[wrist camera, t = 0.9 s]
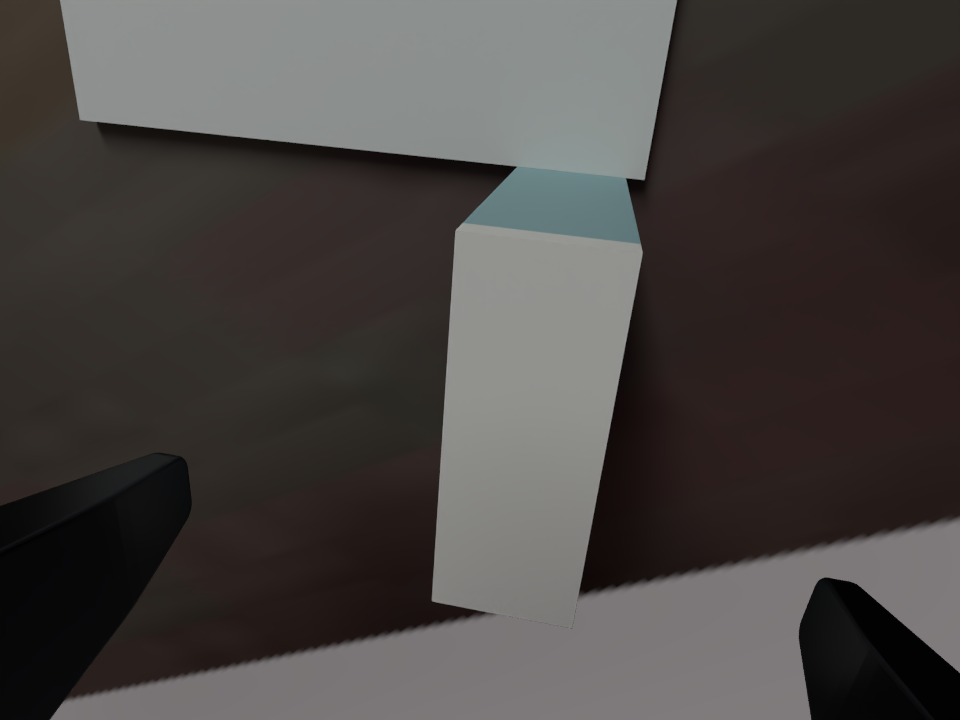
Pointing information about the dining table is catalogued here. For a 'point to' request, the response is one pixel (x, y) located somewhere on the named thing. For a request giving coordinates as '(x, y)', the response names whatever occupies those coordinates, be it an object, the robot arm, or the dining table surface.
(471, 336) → the slab
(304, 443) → the dining table surface
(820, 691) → the robot arm
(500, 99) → the mat
